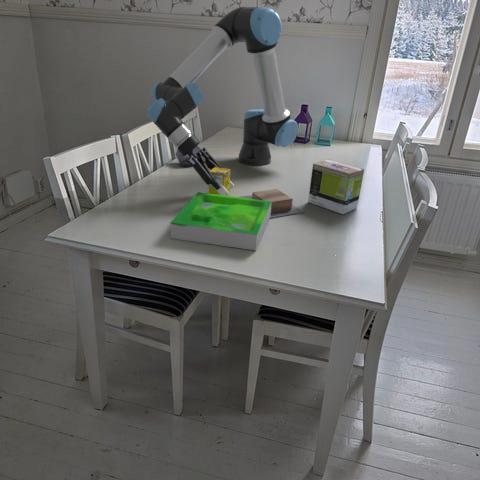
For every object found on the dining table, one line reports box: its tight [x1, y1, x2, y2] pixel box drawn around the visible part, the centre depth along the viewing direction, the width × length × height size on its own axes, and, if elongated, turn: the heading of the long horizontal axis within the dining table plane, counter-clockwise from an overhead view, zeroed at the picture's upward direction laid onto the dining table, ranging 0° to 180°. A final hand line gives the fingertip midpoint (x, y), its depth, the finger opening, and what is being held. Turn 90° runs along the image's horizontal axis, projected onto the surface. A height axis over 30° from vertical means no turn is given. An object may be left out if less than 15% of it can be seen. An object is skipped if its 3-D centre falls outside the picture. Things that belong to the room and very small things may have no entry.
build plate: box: [240, 188, 304, 220], centre depth 146 cm, size 20×16×4 cm
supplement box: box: [207, 167, 231, 196], centre depth 147 cm, size 6×6×11 cm
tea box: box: [308, 159, 365, 215], centre depth 147 cm, size 15×10×15 cm, turn 45°
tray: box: [170, 191, 272, 251], centre depth 128 cm, size 25×25×5 cm
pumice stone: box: [175, 149, 192, 168], centre depth 183 cm, size 10×8×10 cm
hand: (228, 191), depth 147 cm, fingers open, 7 cm apart
